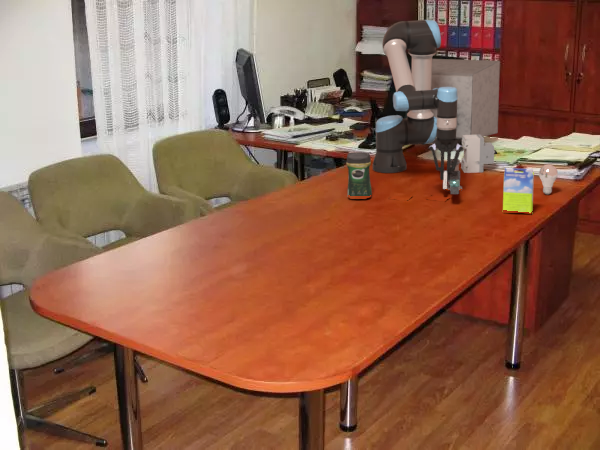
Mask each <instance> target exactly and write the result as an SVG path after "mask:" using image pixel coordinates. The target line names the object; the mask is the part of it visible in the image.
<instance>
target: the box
mask: <svg viewBox="0 0 600 450" xmlns="http://www.w3.org/2000/svg"><path fill="white" fill-rule="evenodd" d="M534 182H535V172H534V169H533V168H514V167H504V173H503V187H502V189H503V193H502V194H503V195H502V196H503V197H502V211H503V210H507V211H518V212H529V213H531V212H532V211H533V209H534V208H533V207H534V185H535V184H534ZM532 213H533V212H532Z"/></svg>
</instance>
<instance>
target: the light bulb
mask: <svg viewBox="0 0 600 450" xmlns="http://www.w3.org/2000/svg"><path fill="white" fill-rule="evenodd" d="M558 175H559V173H558V169H557V167H556V166H554V165H553V164H545V165H542V166H541V168H540V169H539V172H538V177H539V179H540V180H541V183H542V186H543V188H542V192H543V194H545V195H547V196H548V195H549V196H550V194H551V193H553V186H554V183H555V181H556V180H557V178H558Z"/></svg>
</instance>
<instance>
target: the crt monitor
mask: <svg viewBox="0 0 600 450" xmlns="http://www.w3.org/2000/svg"><path fill="white" fill-rule="evenodd" d="M500 62H501V61H500V60H484V59H482V60H481V59H479V60H478V59H452V58H451V59H449V58H448V59H447V58H446V59H445V58H432V77H431V90H433V89H435V88H440V87H455V88H456V89H457V95H458V99H457V126H456V128H455V129H456V141H457V144H459V145H461V146H462V137H463V135H480V134H481V136H482V137H483V138H485V137H487V136H491V135H495V134H498V130H499V103H500V102H499V97H500V73H501V72H500V70H501V69H500V67H501V63H500ZM430 111H431V112H432V113H433V114H434V117H436V118H437V109H430ZM433 144H435V142H433ZM433 144H430V145H431V146H432V145H433ZM462 147H463V146H462ZM427 149H429V150H430V148H429V146H428V147H427ZM435 151H439V149H438V148H437V146H436V150H435ZM452 152H456V147H455V148H454V149H453V151H452ZM461 152H464V149H462V150H461Z"/></svg>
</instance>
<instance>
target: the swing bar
mask: <svg viewBox="0 0 600 450" xmlns="http://www.w3.org/2000/svg"><path fill="white" fill-rule="evenodd" d="M448 182H450V191H449V193H450V195H459V194H460V191H459V186H461V185H460V184H461V183H460V182H461V170H459V171H451V172H450V180H447V183H448Z"/></svg>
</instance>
